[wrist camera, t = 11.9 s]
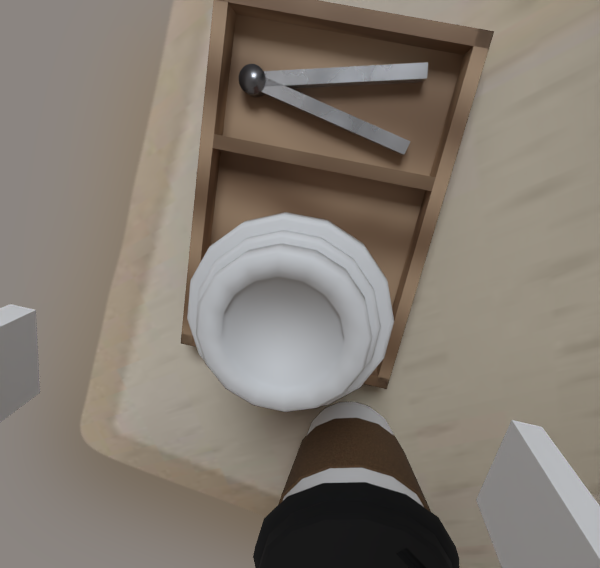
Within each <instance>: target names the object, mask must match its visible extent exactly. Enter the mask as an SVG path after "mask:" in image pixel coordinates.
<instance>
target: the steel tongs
mask: <svg viewBox="0 0 600 568" xmlns="http://www.w3.org/2000/svg"><path fill="white" fill-rule="evenodd" d="M427 72H428V62H425V63H407V64H388V65H370V66H351V67H333V68H314V69H295V70H277V71H263V70H262V68H261V67H259V66H258V65H256V64H247V65H245V66H244V67H243V68H242V69H241V71H240V73H239V84H240V87H241V88H242V90H243V91H245V92H246V93H247V94H248V95H250V96H252V97H261V96H263V95H267V96H269V97H271V98H273V99H276V100H278V101H280V102H282V103H285V104H287V105H289V106H291V107H294V108H296V109H298V110H301V111H303V112H305V113H307V114H310V115H312V116H314V117H316V118H319V119H321V120H323V121H325V122H328V123H330V124H332V125H334V126H337V127H339V128H341V129H344V130H346V131H348V132H350V133H353V134H355V135H357V136H359V137H362V138H364V139H366V140H368V141H371V142H373V143H375V144H377V145H380V146H382V147H384V148H386V149H389V150H391V151H393V152H396V153H398V154H400V155H404V154H405V152H406V150H407V148H408V146H409V144H410V142H411V141H408V140H406V139H404V138H402V137H399V136H397V135H395V134H393V133H390V132H388V131H386V130H384V129H381V128H379V127H377V126H375V125H372V124H370V123H368V122H365V121H363V120H361V119H359V118H356V117H354V116H352V115H350V114H347V113H345V112H343V111H341V110H338V109H336V108H334V107H332V106H329V105H327V104H325V103H323V102H320V101H318V100H316V99H314V98H311V97H309V96H307V95H305V94H302V93H300V92H298V91H295V90H293V88H314V87H335V86H355V85H376V84H397V83H417V82H424V81H425V80H426V79H427Z"/></svg>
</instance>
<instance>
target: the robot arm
mask: <svg viewBox="0 0 600 568" xmlns="http://www.w3.org/2000/svg"><path fill="white" fill-rule="evenodd" d="M37 343H38V342H37V323H36V310H34V309H29V308H25V307H20V306H16V305H12V304H9V305H7V306H5V307H2V308H0V422H1V421H3V420H4V419H5V418H7V417H8V416H9V415H11V414H12V413H13V412H15V411H16V410H18V409H19V408H20V407H22V406H23V405H24V404H26V403H27V402H28V401H30V400H31V399H32V398H34V397H35V396H36V395H38V394H39V393H40V384H39V363H38V345H37ZM476 500H477V503H478V506H479V508H480V511H481V514H482V516H483V519H484V522H485V524H486V527H487V530H488V532H489V535H490V538H491V540H492V543H493V545H494V548H495V551H496V553H497V556H498V559H499V561H500V564H501V567H502V568H600V506H599V504H598V503H597V502H596V500H595V499H594V498H593V496H592V495H591V493H590V492H589V491H588V489H587V488H586V487H585V485H584V484H583V482H582V481H581V480H580V478H579V477H578V476H577V474H576V473H575V471H574V470H573V469H572V467H571V466H570V465H569V463H568V462H567V460H566V459H565V458H564V456H563V455H562V454H561V452H560V451H559V450H558V448H557V447H556V445H555V444H554V443H553V441H552V440H551V439H550V437H549V436H548V434H547V433H546V432H545V430H544V429H543V428H542V427H540V426H536V425H532V424H527V423H523V422H519V421H514V420H512V421H511V423H510V425H509V427H508V430H507V432H506V434H505V436H504V439H503V441H502V443H501V445H500V448H499V450H498V452H497V454H496V457H495V459H494V461H493V463H492V465H491V468H490V470H489V472H488V474H487V477H486V479H485V481H484V483H483V486H482V488H481V490H480V492H479V495H478V497H477V499H476Z"/></svg>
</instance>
